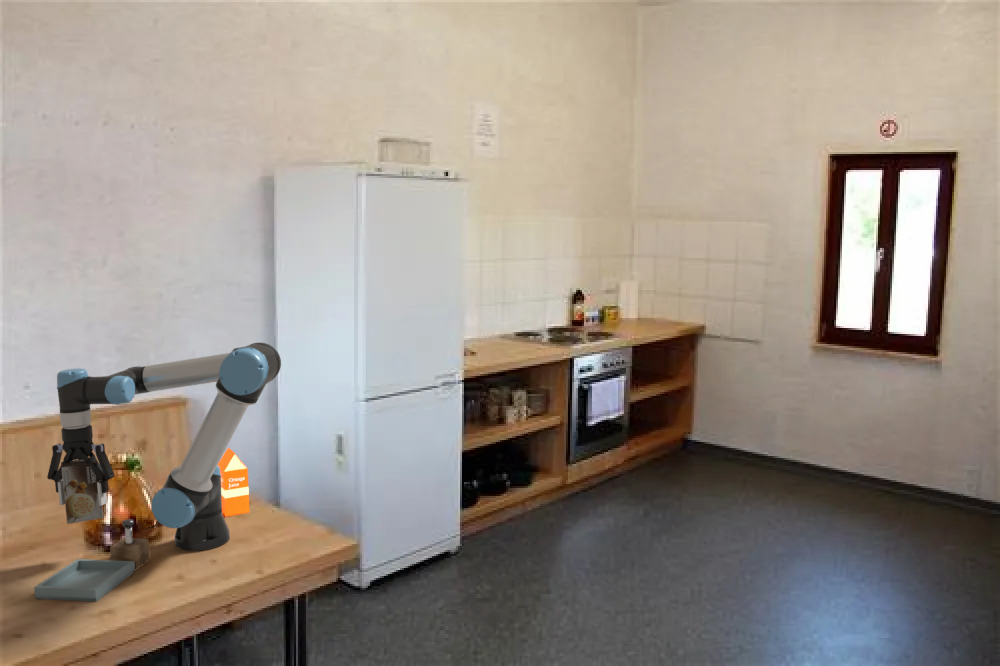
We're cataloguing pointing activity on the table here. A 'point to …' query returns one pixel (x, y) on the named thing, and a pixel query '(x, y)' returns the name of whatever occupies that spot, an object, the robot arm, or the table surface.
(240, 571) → the table surface
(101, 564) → the tray
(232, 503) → the orange juice
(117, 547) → the walnut block
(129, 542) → the peg
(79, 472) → the coffee box
